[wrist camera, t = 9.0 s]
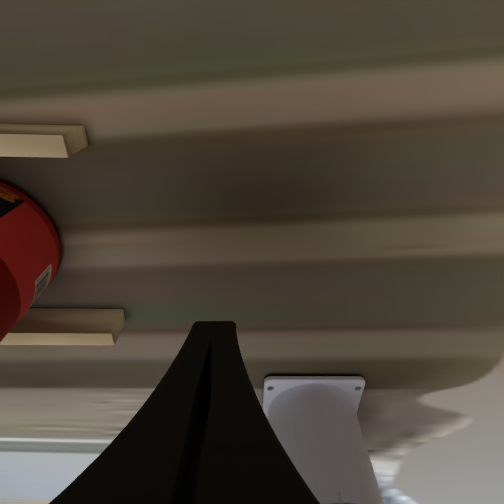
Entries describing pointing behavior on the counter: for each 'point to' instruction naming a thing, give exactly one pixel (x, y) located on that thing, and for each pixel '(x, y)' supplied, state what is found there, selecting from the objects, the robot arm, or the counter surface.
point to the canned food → (23, 255)
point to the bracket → (56, 319)
